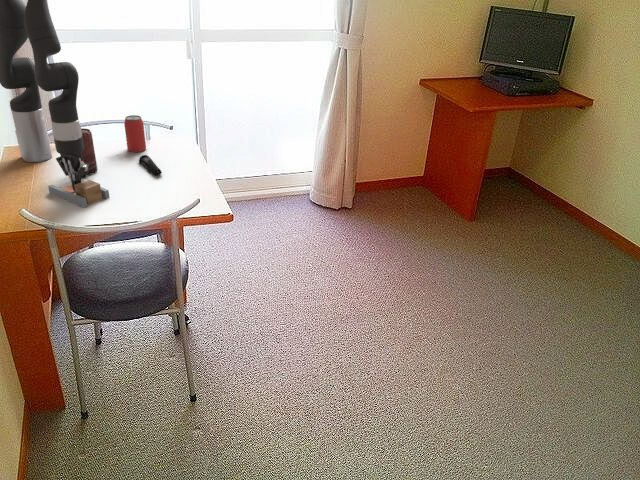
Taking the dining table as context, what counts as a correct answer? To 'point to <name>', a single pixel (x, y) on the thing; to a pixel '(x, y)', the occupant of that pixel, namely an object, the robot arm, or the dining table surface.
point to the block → (89, 191)
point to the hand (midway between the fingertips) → (78, 190)
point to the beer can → (135, 133)
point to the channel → (68, 194)
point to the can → (89, 151)
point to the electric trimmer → (149, 164)
